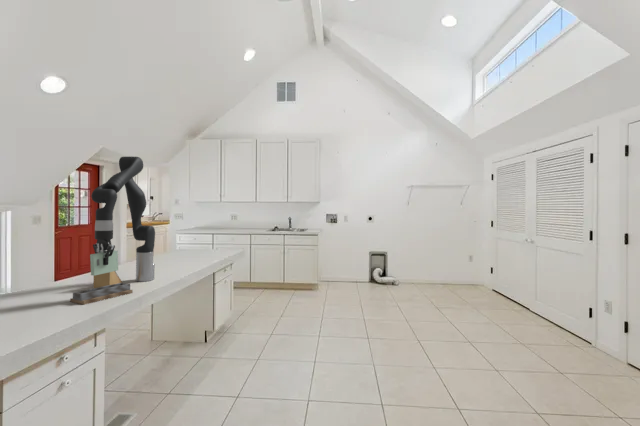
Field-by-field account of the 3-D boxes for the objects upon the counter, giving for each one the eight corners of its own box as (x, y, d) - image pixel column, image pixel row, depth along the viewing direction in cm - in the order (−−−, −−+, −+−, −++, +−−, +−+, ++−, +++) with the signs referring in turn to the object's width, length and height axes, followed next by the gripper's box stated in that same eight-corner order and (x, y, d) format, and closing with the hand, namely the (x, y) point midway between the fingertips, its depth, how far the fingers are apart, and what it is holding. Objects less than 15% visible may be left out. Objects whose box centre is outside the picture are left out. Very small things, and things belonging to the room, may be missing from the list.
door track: (119, 290, 176) (119, 282, 176) (132, 292, 172) (132, 284, 172) (70, 301, 154) (70, 292, 154) (84, 304, 150) (84, 294, 150)
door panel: (115, 269, 170) (114, 250, 169) (118, 270, 169) (117, 250, 168) (91, 275, 159) (90, 254, 158) (94, 275, 158) (93, 254, 157)
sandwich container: (123, 283, 195) (124, 257, 195) (110, 289, 180) (110, 261, 180) (108, 283, 194) (108, 257, 194) (93, 289, 179) (93, 261, 179)
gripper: (120, 229, 164) (120, 264, 164) (102, 228, 169) (101, 262, 169) (105, 230, 157) (105, 267, 157) (87, 229, 162) (86, 264, 163)
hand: (103, 264), depth 163 cm, fingers closed on door panel, 2 cm apart
